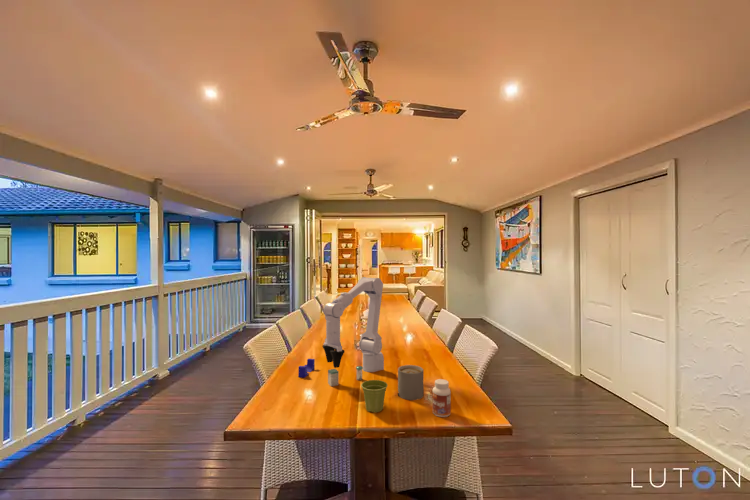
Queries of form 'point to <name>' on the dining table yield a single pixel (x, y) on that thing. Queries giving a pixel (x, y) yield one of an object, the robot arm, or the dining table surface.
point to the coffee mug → (410, 382)
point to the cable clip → (306, 368)
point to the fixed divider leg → (359, 372)
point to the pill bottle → (441, 398)
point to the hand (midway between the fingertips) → (333, 364)
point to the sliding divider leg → (333, 377)
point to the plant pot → (374, 394)
